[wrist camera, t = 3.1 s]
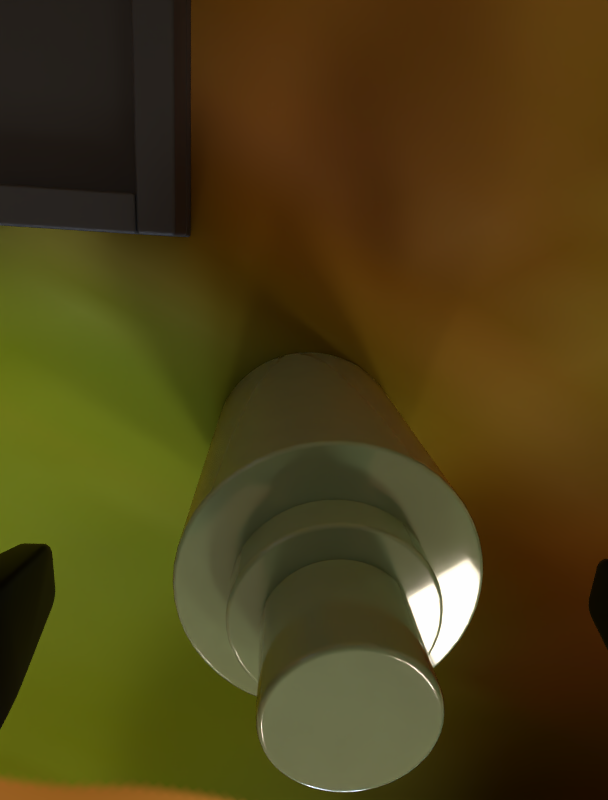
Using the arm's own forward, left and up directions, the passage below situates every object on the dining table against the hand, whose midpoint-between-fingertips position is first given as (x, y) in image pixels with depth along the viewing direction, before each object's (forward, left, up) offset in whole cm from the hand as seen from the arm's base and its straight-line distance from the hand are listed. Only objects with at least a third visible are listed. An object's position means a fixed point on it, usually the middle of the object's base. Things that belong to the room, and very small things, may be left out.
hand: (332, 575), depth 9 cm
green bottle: (0, 0, -6) cm, 6 cm away
